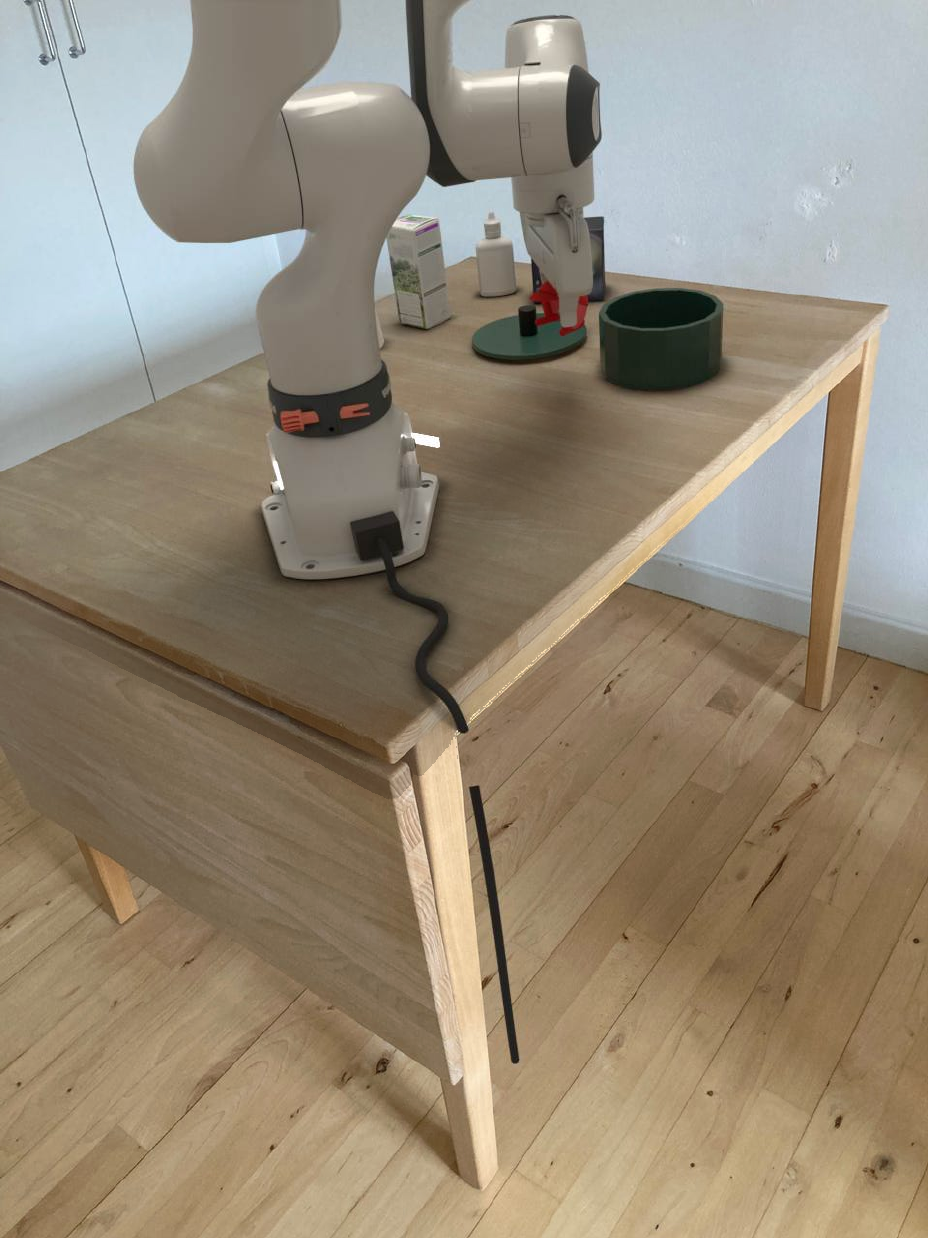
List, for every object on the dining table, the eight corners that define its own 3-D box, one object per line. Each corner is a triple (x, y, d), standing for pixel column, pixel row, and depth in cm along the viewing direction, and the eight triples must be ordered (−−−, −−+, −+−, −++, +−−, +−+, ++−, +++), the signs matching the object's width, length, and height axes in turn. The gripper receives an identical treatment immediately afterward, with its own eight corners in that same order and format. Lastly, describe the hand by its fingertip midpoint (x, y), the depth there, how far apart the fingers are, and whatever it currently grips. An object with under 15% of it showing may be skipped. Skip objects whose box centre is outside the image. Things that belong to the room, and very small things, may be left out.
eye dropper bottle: (508, 298, 157) (501, 216, 150) (475, 296, 159) (467, 215, 152) (520, 289, 160) (514, 208, 153) (488, 287, 162) (480, 207, 155)
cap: (553, 316, 125) (550, 265, 121) (598, 320, 122) (596, 269, 118) (520, 339, 119) (516, 287, 116) (567, 344, 116) (564, 290, 113)
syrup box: (452, 317, 152) (440, 215, 144) (426, 330, 149) (412, 227, 141) (424, 311, 156) (411, 211, 147) (397, 325, 152) (382, 223, 144)
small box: (532, 305, 153) (527, 232, 147) (536, 290, 158) (532, 219, 152) (604, 301, 151) (602, 227, 145) (606, 286, 156) (604, 214, 150)
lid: (597, 354, 135) (596, 318, 132) (479, 371, 135) (475, 336, 132) (574, 314, 148) (573, 282, 145) (467, 330, 147) (463, 297, 145)
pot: (736, 380, 124) (739, 319, 119) (616, 397, 123) (615, 337, 119) (700, 338, 136) (702, 281, 131) (590, 354, 135) (588, 297, 131)
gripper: (605, 203, 103) (609, 338, 111) (561, 166, 120) (567, 285, 128) (543, 212, 103) (551, 347, 111) (508, 173, 120) (517, 293, 128)
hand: (560, 313), depth 119 cm, fingers closed on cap, 7 cm apart
